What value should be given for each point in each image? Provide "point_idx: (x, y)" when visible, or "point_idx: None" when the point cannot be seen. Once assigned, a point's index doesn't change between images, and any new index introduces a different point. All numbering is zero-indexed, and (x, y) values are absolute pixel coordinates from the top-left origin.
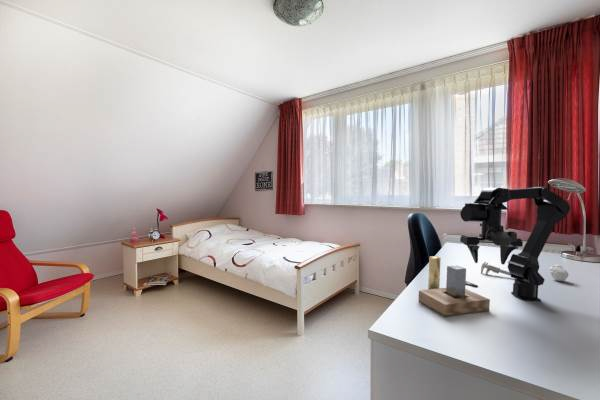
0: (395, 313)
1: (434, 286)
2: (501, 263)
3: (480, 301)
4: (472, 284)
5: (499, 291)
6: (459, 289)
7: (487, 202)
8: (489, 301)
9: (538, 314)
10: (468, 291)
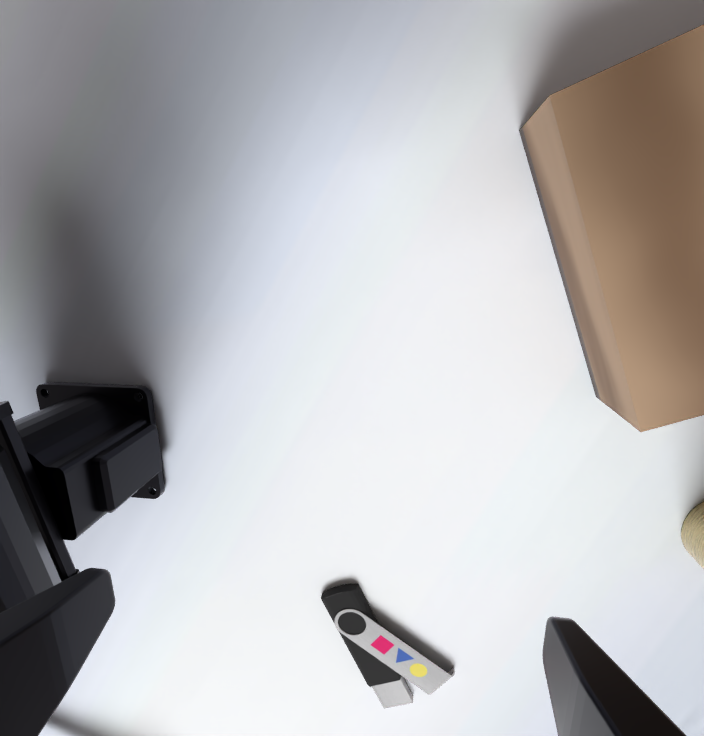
0: None
1: None
2: (111, 607)
3: (679, 37)
4: (352, 615)
5: (221, 520)
6: None
7: None
8: (546, 101)
9: (175, 144)
10: (642, 296)
